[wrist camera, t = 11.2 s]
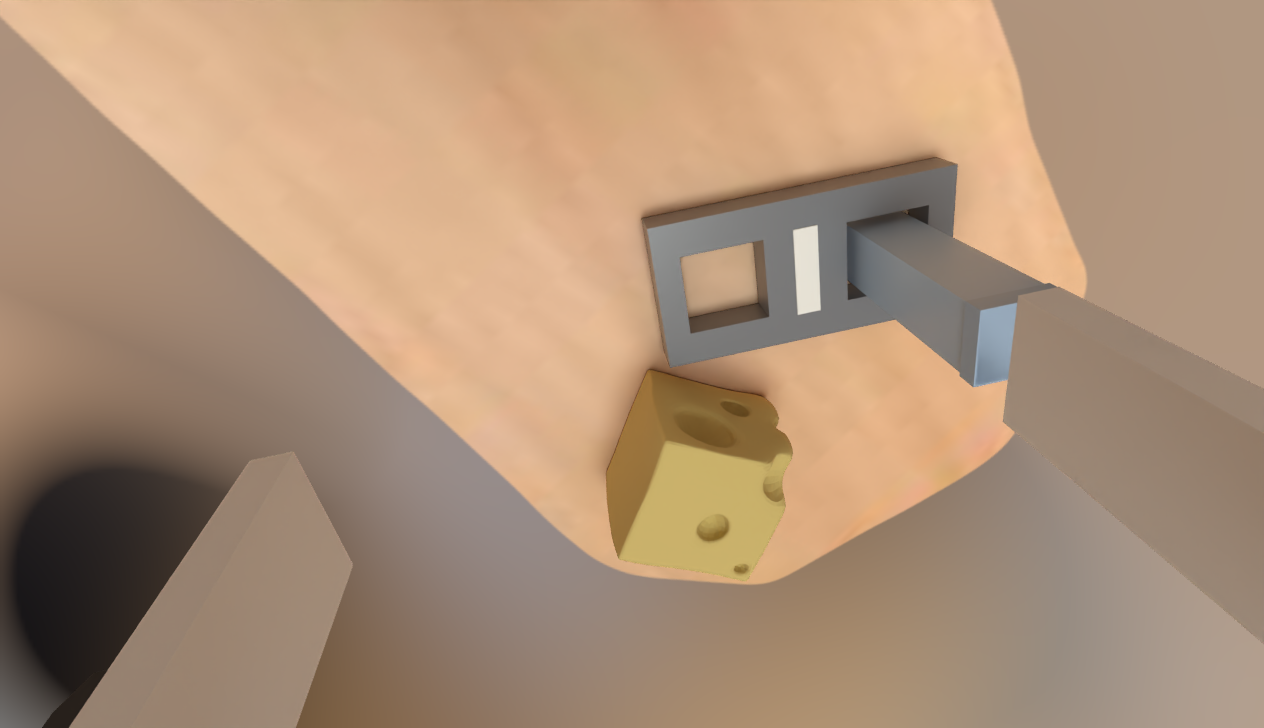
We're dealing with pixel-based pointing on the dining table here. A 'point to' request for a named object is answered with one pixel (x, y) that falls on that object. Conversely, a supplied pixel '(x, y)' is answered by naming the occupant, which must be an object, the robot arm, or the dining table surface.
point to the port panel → (787, 257)
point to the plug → (940, 291)
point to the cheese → (697, 478)
